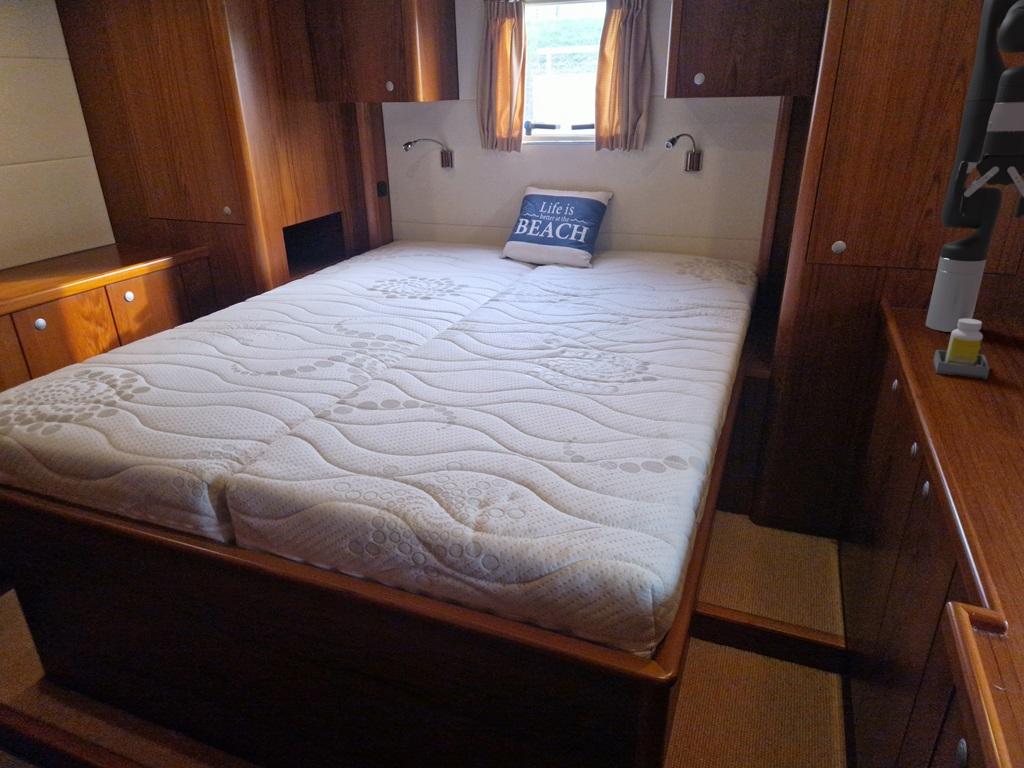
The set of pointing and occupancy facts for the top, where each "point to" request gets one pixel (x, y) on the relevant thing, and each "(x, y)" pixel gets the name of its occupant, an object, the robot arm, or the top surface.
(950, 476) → the top surface
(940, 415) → the top surface
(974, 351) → the supplement bottle
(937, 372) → the tray
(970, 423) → the top surface
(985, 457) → the top surface
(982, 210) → the robot arm
